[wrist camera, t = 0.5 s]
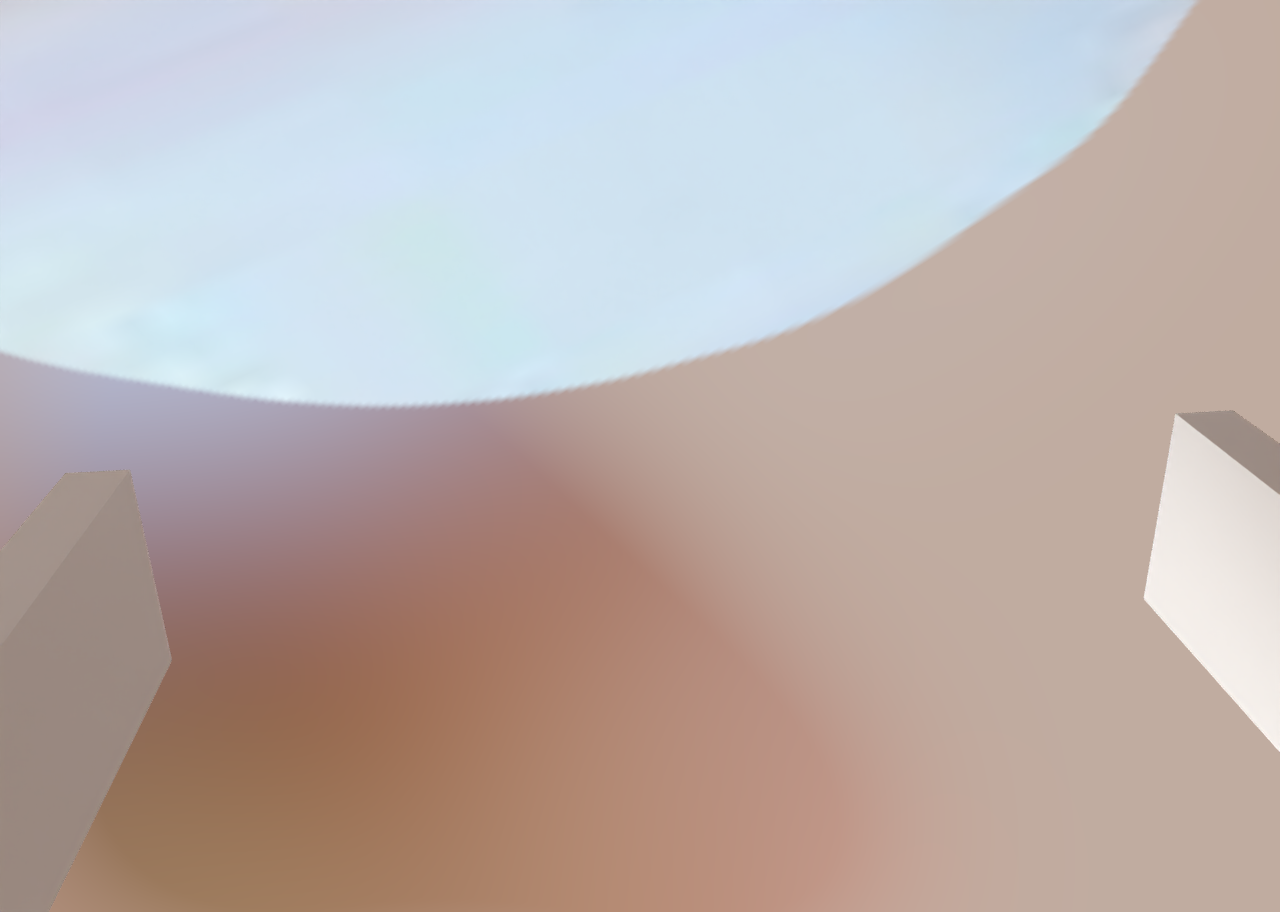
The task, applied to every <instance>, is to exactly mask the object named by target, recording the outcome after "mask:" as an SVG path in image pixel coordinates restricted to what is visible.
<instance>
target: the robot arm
mask: <svg viewBox="0 0 1280 912" xmlns="http://www.w3.org/2000/svg"><path fill="white" fill-rule="evenodd" d="M1144 600H1145V601H1146V602H1147V603H1148V604H1149V605H1150V606H1151V607H1152V609H1153V610H1154V611H1155V612H1156V613H1157V614H1158V615H1159V616H1160V618H1161V619H1162V620H1163V621H1164V622H1165V623H1166V624H1167V626H1169V628H1170V629H1171V630H1172V631H1173V632H1174V633H1175V634H1176V636H1177V637H1178V638H1179V639H1180V640H1181V641H1182V642H1183V644H1184V645H1186V647H1187V648H1188V649H1189V650H1190V651H1191V653H1193V655H1194V656H1195V657H1196V658H1197V659H1198V660H1199V662H1200V663H1201V664H1202V665H1203V666H1204V667H1205V668H1206V670H1207V671H1208V672H1209V673H1210V674H1211V675H1212V676H1213V677H1214V679H1215V680H1216V681H1217V682H1218V683H1219V684H1220V685H1221V686H1222V688H1223V689H1224V690H1225V691H1226V692H1227V693H1228V694H1229V695H1230V696H1231V698H1232V699H1233V700H1234V701H1235V702H1236V703H1237V704H1238V706H1239V707H1240V708H1241V709H1242V710H1243V711H1244V712H1245V713H1246V715H1247V716H1248V717H1249V718H1250V719H1251V720H1252V721H1253V722H1254V723H1255V725H1256V726H1257V727H1258V728H1259V729H1260V730H1261V731H1262V733H1263V734H1264V735H1265V736H1266V737H1267V738H1268V739H1269V741H1271V743H1272V744H1273V745H1274V746H1275V747H1276V748H1277V750H1278V751H1279V752H1280V443H1278V442H1277V441H1275V440H1274V439H1273V438H1271V437H1270V436H1268V435H1267V434H1265V433H1264V432H1263V431H1261V430H1260V429H1258V428H1257V427H1256V426H1254V425H1253V424H1251V423H1250V422H1249V421H1247V420H1246V419H1244V418H1243V417H1242V416H1240V415H1239V414H1237V413H1236V412H1235V411H1215V412H1196V413H1178V414H1175V420H1174V426H1173V431H1172V437H1171V443H1170V449H1169V455H1168V460H1167V466H1166V472H1165V478H1164V484H1163V490H1162V495H1161V501H1160V507H1159V513H1158V518H1157V524H1156V530H1155V536H1154V542H1153V547H1152V554H1151V559H1150V566H1149V571H1148V577H1147V582H1146V588H1145V594H1144ZM171 661H172V659H171V654H170V649H169V645H168V640H167V637H166V632H165V627H164V623H163V618H162V613H161V609H160V604H159V600H158V595H157V590H156V586H155V581H154V577H153V572H152V568H151V563H150V558H149V554H148V549H147V545H146V540H145V536H144V532H143V527H142V522H141V517H140V513H139V508H138V504H137V499H136V495H135V490H134V485H133V481H132V476H131V472H130V470H116V471H99V472H78V473H65V474H64V476H63V477H62V478H61V479H60V480H59V482H58V483H57V484H56V485H55V486H54V487H53V489H52V490H51V491H50V492H49V493H48V495H47V496H46V497H45V498H44V499H43V501H42V502H41V503H40V504H39V505H38V506H37V508H36V509H35V510H34V511H33V512H32V514H31V515H30V516H29V517H28V518H27V520H26V521H25V522H24V523H23V524H22V525H21V527H20V528H19V529H18V530H17V532H16V533H15V534H14V535H13V536H12V537H11V539H10V540H9V541H8V542H7V543H6V544H5V546H4V547H3V548H2V549H1V550H0V912H49V910H50V908H51V906H52V904H53V902H54V900H55V898H56V896H57V894H58V892H59V890H60V888H61V886H62V884H63V882H64V880H65V878H66V876H67V873H68V872H69V870H70V868H71V865H72V863H73V861H74V859H75V857H76V855H77V853H78V851H79V849H80V847H81V845H82V843H83V841H84V839H85V837H86V835H87V833H88V831H89V829H90V827H91V825H92V822H93V821H94V818H95V816H96V814H97V812H98V810H99V808H100V806H101V804H102V802H103V800H104V798H105V796H106V794H107V792H108V790H109V788H110V786H111V784H112V782H113V780H114V777H115V776H116V773H117V771H118V769H119V767H120V765H121V763H122V761H123V759H124V757H125V755H126V753H127V751H128V749H129V747H130V745H131V743H132V740H133V739H134V737H135V735H136V733H137V731H138V728H139V726H140V724H141V722H142V720H143V718H144V716H145V714H146V712H147V710H148V708H149V706H150V704H151V702H152V700H153V698H154V696H155V694H156V692H157V690H158V688H159V686H160V683H161V681H162V679H163V677H164V675H165V673H166V671H167V669H168V667H169V665H170V663H171Z"/></svg>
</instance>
